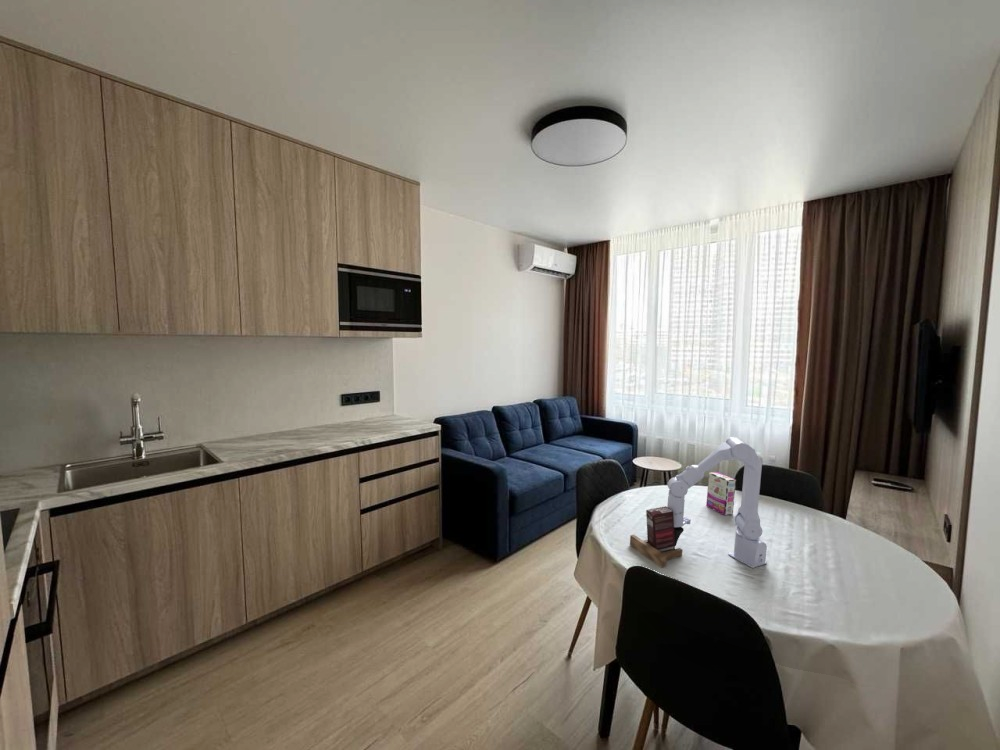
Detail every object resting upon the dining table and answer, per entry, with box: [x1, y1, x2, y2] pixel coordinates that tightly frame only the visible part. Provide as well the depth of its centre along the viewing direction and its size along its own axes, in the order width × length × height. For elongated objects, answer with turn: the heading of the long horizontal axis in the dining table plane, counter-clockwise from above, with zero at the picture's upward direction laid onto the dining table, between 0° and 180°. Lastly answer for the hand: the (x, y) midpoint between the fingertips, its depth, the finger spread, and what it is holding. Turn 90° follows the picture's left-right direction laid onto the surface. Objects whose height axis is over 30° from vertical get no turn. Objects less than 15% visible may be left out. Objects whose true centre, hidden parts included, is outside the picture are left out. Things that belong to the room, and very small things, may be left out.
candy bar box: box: [705, 471, 737, 516], centre depth 189 cm, size 11×5×16 cm, turn 17°
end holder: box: [629, 534, 683, 568], centre depth 151 cm, size 16×13×4 cm
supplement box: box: [645, 506, 676, 553], centre depth 151 cm, size 9×5×16 cm, turn 102°
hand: (672, 544), depth 154 cm, fingers closed
